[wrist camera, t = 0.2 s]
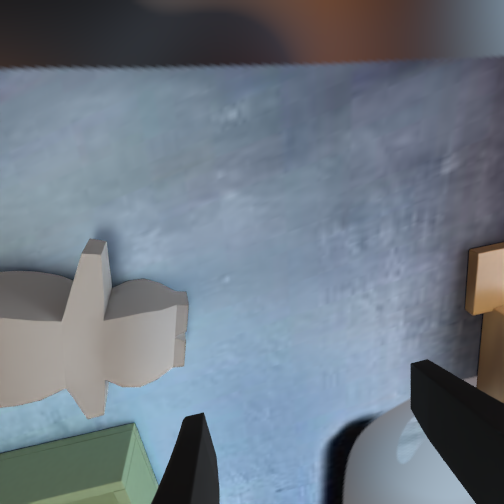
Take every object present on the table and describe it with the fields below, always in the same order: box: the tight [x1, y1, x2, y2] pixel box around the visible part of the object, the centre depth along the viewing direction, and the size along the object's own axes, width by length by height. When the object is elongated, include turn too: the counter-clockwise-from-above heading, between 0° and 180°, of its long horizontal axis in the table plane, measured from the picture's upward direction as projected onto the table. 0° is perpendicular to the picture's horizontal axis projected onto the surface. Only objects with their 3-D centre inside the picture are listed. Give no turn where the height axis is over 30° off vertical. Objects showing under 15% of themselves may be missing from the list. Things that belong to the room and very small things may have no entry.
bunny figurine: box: [0, 239, 189, 419], centre depth 17 cm, size 10×5×15 cm
